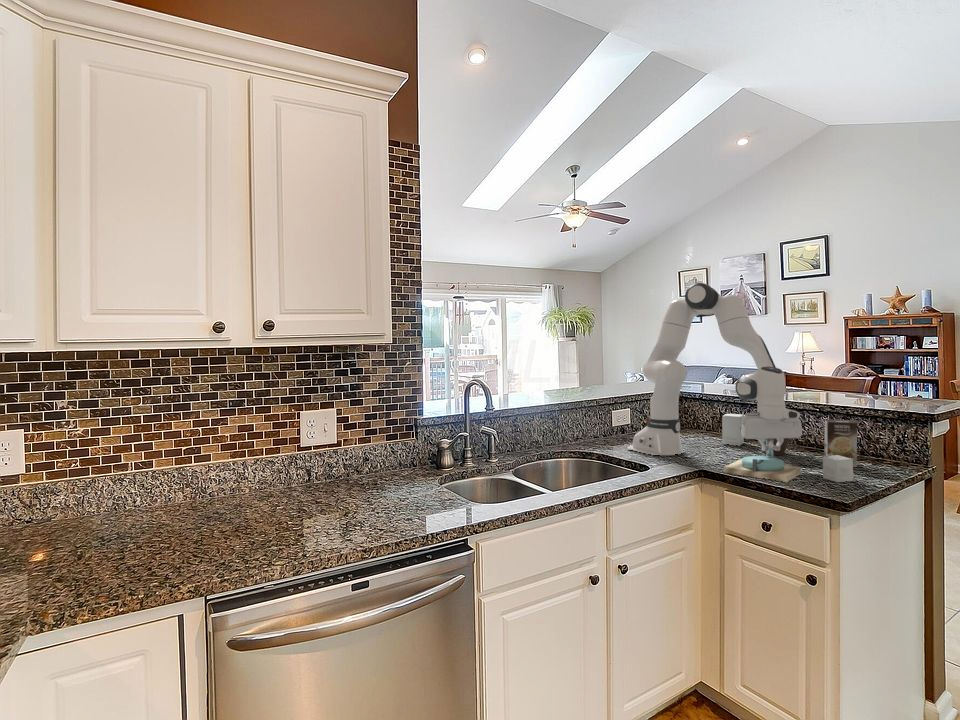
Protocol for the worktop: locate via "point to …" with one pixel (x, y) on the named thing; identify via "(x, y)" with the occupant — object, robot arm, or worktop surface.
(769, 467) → the dial
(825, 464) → the skincare box
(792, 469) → the dial base
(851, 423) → the coffee box
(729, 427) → the supplement box
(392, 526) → the worktop surface
